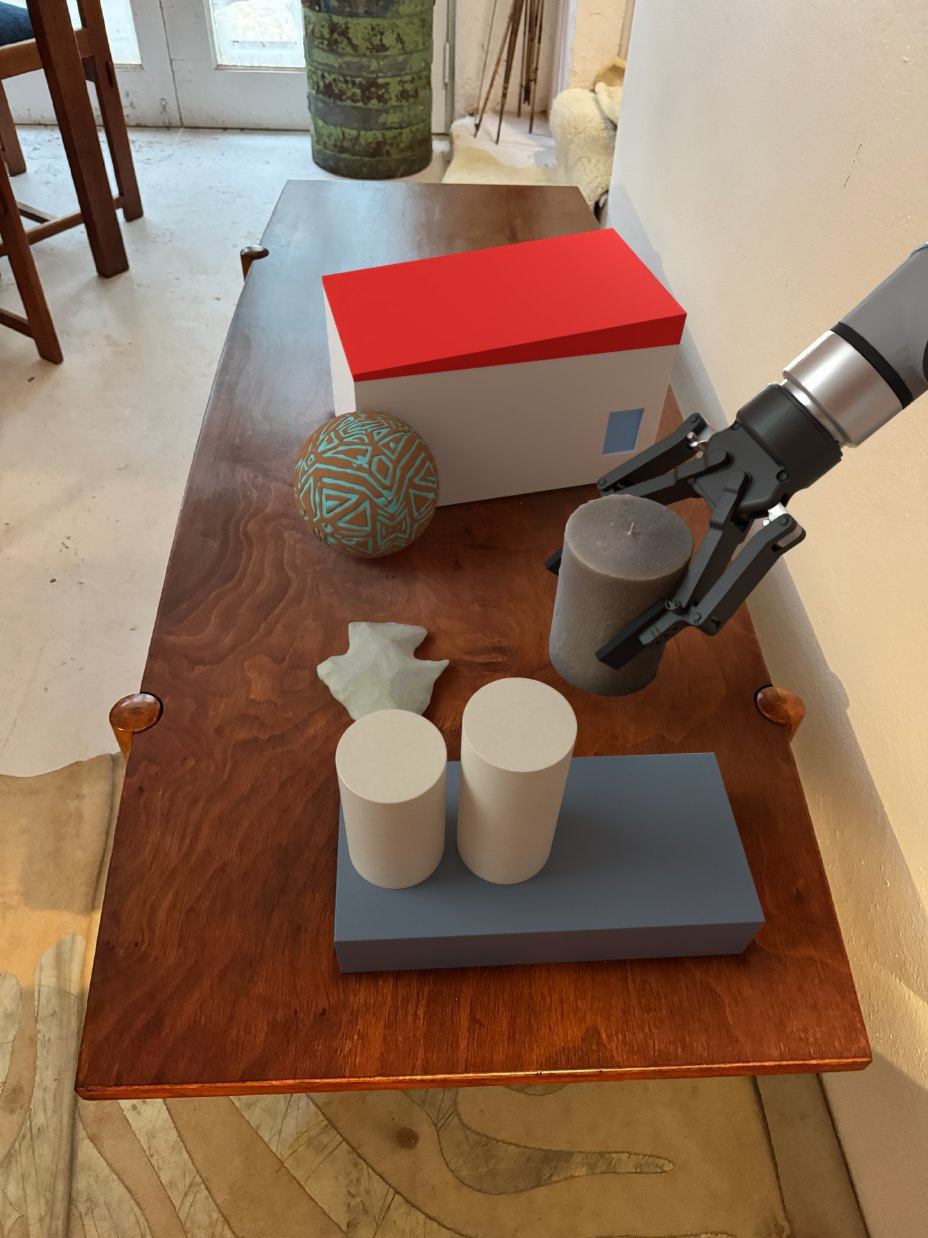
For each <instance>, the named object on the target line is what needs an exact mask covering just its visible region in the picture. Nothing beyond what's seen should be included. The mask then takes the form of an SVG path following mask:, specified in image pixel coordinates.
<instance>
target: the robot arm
mask: <svg viewBox="0 0 928 1238" xmlns="http://www.w3.org/2000/svg"><path fill="white" fill-rule="evenodd" d="M781 375H782V377H783V379H784V380H783V381H782V382H781V383H779V382H777V381H774V382H773V383H772V382H769V383H767V384H766V385H765V386H764V387H763V388H762V389H761V390H760V391H758V392H757V393H756V394H755V395H754V396H752V398H750V399H749V401H747V402H746V403H744V405H743V406H742V407H741V408H739V409H738V410H737V412H736V414H735V420H734V421H733V423H732V424H731V425H729V426H728V427H726V428H723V429H721V430H717V431H716V430H715V428H714V427H713V426H712V425H711V424H710V423H709V422H708V420H707V419H705V417H704V416H703V415H702V414H701V413H699V412H693V413H691V414H690V415H689V416H688V417H687V418H686V419H685V420H684V421H683V422H682V423H681V424H680V425H679V426H678V428H676V429H675V430H674V431H673V432H672V433H670V434H668V435H667V436H665V437H664V438H662V439H660V440H659V441H657V442H655V444H654V445H652V446H651V447H649V448H647V449H646V450H644V451H643V452H641V453H639V454H638V455H636V456H635V457H633V458H631V459H630V460H628V461H626V462H625V463H623V464H622V465H620V466H618V467H617V468H615V469H613V470H612V471H610V472H609V473H607V474H605V475H604V476H602V477H601V478H600V479H599V480H598V481H597V483H596V488H597V489H598V490H599V492H600V498H602V497H604V496H609V495H615V494H617V495H623V494H624V495H625V494H629V495H632V496H636V497H641V498H646V499H649V500H652V501H654V502H657V503H660V504H662V505H664V506H665V507H667V506H669V505H673V504H675V503H678V502H681V501H684V500H688V499H703V500H705V502H706V505H707V507H708V508H709V509H710V510H711V512H712V513H711V515H710V517H709V521H708V525H709V527H708V529H707V531H706V534H705V536H704V537H703V539H702V542H701V544H700V546H699V547H698V549H697V551H696V553H695V555H694V558H693V559H692V560H691V562H690V565H689V568H688V571H687V573H686V575H685V577H684V579H683V581H682V583H681V585H680V587H679V588H678V590H677V592H676V594H675V596H674V598H673V600H672V602H671V601H668V600H666V601H664V600H662V599H659V600H658V601H657V602H656V603H655V604H653V605H652V606H651V607H650V608H649V609H647V610H646V611H645V612H644V613H643V614H641V615H640V616H639V617H638V618H636V619H635V620H634V621H633V622H632V623H630V624H629V625H628V626H627V627H626V628H624V629H623V630H622V631H621V632H620V633H618V634H617V635H616V636H615V637H614V638H612V639H611V640H610V641H609V642H607V643H606V644H605V645H604V646H603V647H601V648H600V649H599V650H598V651H597V652H595V653H594V654H595V655H596V657H597V659H598V661H600V662H602V663H604V664H606V665H607V666H609V667H611V668H613V669H615V670H617V671H618V670H619V669H620V668H622V667H623V666H624V665H625V664H627V663H628V662H629V661H630V660H632V659H633V658H634V657H635V656H637V655H638V654H639V653H640V652H642V651H643V650H644V649H645V648H646V647H648V648H649V649H651V650H656V649H659V648H660V647H661V646H663V645H664V644H665V643H666V644H667V643H668V642H669V641H670V640H671V639H673V638H674V637H675V636H676V635H678V634H679V633H680V632H682V631H683V630H685V628H687V627H694V628H695V629H697V630H698V631H700V632H702V633H703V634H704V635H706V636H707V637H708V636H709V637H714V636H717V635H718V634H719V633H720V632H721V630H722V629H723V628H724V626H725V625H726V624H727V623H728V621H729V620H730V619H731V618H732V617H733V616H734V614H735V613H736V612H737V611H738V609H739V608H740V607H741V606H742V605H743V603H744V602H745V601H746V599H748V597H749V596H750V595H751V594H752V592H753V591H754V590H755V588H757V587H758V585H759V584H760V582H761V581H762V580H763V579H764V578H765V576H766V575H767V574H768V572H769V571H770V570H771V569H772V567H773V566H775V564H776V563H777V561H779V559H780V558H781V557H782V556H783V555H785V554H787V552H789V551H790V550H792V549H793V548H795V547H796V546H798V545H799V544H801V543H802V542H803V541H804V540H805V539H806V537H807V531H806V529H805V528H804V527H803V526H802V525H801V524H800V523H799V522H798V521H797V520H796V519H795V518H794V516H792V515H791V513H790V512H789V511H788V509H787V506H788V504H789V502H790V501H791V499H792V497H794V496H795V494H797V493H798V492H800V491H802V490H806V489H809V488H810V487H812V486H813V485H814V484H815V483H817V481H819V480H820V479H821V478H823V477H824V476H825V475H826V474H827V473H828V472H830V471H831V470H832V469H833V468H834V467H836V466H837V465H838V464H840V462H842V457H843V456H844V453H843V451H842V449H843V448H844V447H845V446H846V447H847V448H849V449H857V448H858V447H860V445H862V444H863V443H864V442H865V441H866V440H868V439H869V438H870V437H872V436H873V435H874V434H875V433H877V432H878V431H879V430H881V428H882V427H884V426H885V425H886V424H887V423H888V422H890V421H891V420H892V419H894V418H895V417H896V416H897V415H898V414H900V413H901V412H902V411H903V410H905V409H906V408H907V407H909V406H910V405H911V404H912V403H914V402H915V401H916V400H917V399H918V398H920V397H921V396H922V395H923V394H925V393H926V392H927V391H928V241H926V243H925V242H924V243H923V244H922V245H921V246H920V247H919V246H918V247H917V248H915V249H914V250H913V251H912V252H911V253H910V255H909V256H907V258H906V260H905V261H904V262H902V263H901V264H900V265H899V266H898V267H897V268H895V270H894V271H893V272H891V273H890V274H889V275H888V276H887V277H886V278H884V280H883V281H882V282H880V283H879V284H878V285H877V286H876V287H875V288H874V289H873V290H871V291H870V292H869V293H868V294H867V295H866V296H865V297H864V298H863V299H862V300H861V301H859V302H858V303H856V305H855V306H854V307H853V308H852V309H851V310H849V311H848V312H847V313H846V314H845V315H843V317H842V318H841V319H840V320H838V322H837V323H836V324H834V325H833V326H832V327H831V328H830V329H829V330H828V331H826V332H825V333H823V335H821V336H820V337H819V338H818V339H817V340H816V341H814V342H813V343H812V344H811V345H810V346H809V347H808V348H806V350H804V351H803V352H802V353H801V354H800V355H799V356H797V357H796V358H795V359H794V360H793V361H792V362H790V363H789V364H788V365H787V366H786V367H785V368H783V369H782V374H781ZM700 452H701V453H702V455H701V456H700V457H698V458H694V459H692V458H693V457H694V456H696V455H697V454H698V453H700ZM691 459H692V460H691ZM759 519H763V520H762V522H761V528H760V529H759V530H758V531H756V533H755V534H753V536H752V537H751V538H750V539H749V540H748V541H747V543H746V544H745V545H744V547H743V548H742V549H741V550H740V552H739V553H738V554H737V555H736V557H734V559H733V560H732V562H730V561H731V559H732V557H733V556H734V553H735V552H736V549H737V547H738V546H739V545H741V544H743V543H744V542H745V541H746V538H747V536H748V534H749V532H750V531H751V529H752V527H753V525H754V523H755V521H756V520H759ZM563 546H564V544H563V545H562V546H561V547H560V548H558V549H557V550H556V551H555V552H554V553H553V554H552V555H551V556H550V557H548V559H547V560H545V561H544V562H543V565H544V567H545V569H546V570H547V571H548V572H550V573H551V574H552V575H555V576H556V577H558V578H559V569H560V566H561V561H562V553H563ZM729 563H730V564H729Z"/></svg>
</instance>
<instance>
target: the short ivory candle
mask: <svg viewBox="0 0 928 1238" xmlns="http://www.w3.org/2000/svg"><path fill="white" fill-rule="evenodd" d="M447 761H448V751H447V745H446V741H445V739H444V737H443V735H442V733H441V732H440V730H439V729H438V728H437V726H436V725H434V724H433V723H432V722H431V721H430V720H429V719H427V718H425V717H424V716H422V715H421V716H420V715H418V714H416V713H413V712H410V711H405V710H397V709H389V710H381V711H377V712H374V713H371V714H368V715H366V716H364V717H362V718H360V719H359V720H357V721H354V722H353V723H352V724H351V725H349V727H348V728H346V730H345V731H344V732H343V734H342V736H341V737H340V739H339V742H338V743H337V746H336V750H335V766H336V767H335V768H336V774H337V779H338V787H339V793H340V795H341V801H342V807H343V814H344V821H345V827H346V834H347V841H348V847H349V854H350V858H351V861H352V863H353V865H354V867H355V869H356V870H357V871H358V873H359V874H360V875H361V876H362V877H363V878H364V879H366V880H367V881H369V882H370V883H372V884H374V885H377V886H379V887H383V888H388V889H401V888H407V887H411V886H413V885H416V884H418V883H420V882H422V881H423V880H425V879H426V878H427V877H429V876H430V875H431V874H432V873H433V872H434V870H435V869H436V868H437V866H438V865H439V863H440V861H441V859H442V856H443V852H444V843H445V808H446V773H447Z"/></svg>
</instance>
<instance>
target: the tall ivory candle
mask: <svg viewBox="0 0 928 1238" xmlns="http://www.w3.org/2000/svg"><path fill="white" fill-rule="evenodd" d="M575 714H576V713H575V712H574V709H573V707H572V706H571V704H570V703H569V701H568V700H567V699H566V697H564V695H562V694H561V692H559V691H558V690H556V689H555V688H553V687H552V686H550V685H548V684H546V683H544V682H541V681H540V680H535V679H531V678H527V677H507V678H501V679H497V680H494V681H492V682H490V683H488V684H485V685H484V686H482V687H481V688H479V689H478V690H477V691H476V692H475V693H473V695H472V696H471V697H470V699H469V700H468V701H467V703H466V706H465V708H464V710H463V714H462V724H461V725H462V726H461V743H460V744H461V745H460V761H461V762H460V782H459V801H458V821H457V847H458V851H459V854H460V856H461V858H462V860H463V862H464V863H465V865H466V866H467V867H468V868H469V869H470V870H471V871H472V872H473V873H474V874H476V875H477V876H479V877H480V878H482V879H484V880H486V881H489V882H492V883H497V884H515V883H519V882H523V881H525V880H528V879H529V878H531V877H533V876H534V875H535V874H537V873H538V872H539V871H540V870H541V869H542V868H543V866H544V865H545V863H546V861H547V859H548V857H549V854H550V850H551V846H552V841H553V837H554V833H555V828H556V824H557V819H558V815H559V811H560V806H561V802H562V798H563V793H564V789H565V784H566V780H567V776H568V771H569V767H570V762H571V758H572V757H573V753H574V750H575V749H574V748H575V744H576V740H577V735H578V722H577V717H576V715H575Z"/></svg>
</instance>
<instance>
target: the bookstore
mask: <svg viewBox="0 0 928 1238" xmlns="http://www.w3.org/2000/svg"><path fill="white" fill-rule="evenodd" d="M321 283H322V293H323V301H324V313H325V322H326V323H325V324H326V333H327V334H326V335H327V343H328V345H327V346H328V353H329V364H330V365H329V366H330V375H331V384H332V386H331V387H332V395H333V406H334V407H333V408H334V415H335V417H337V416H339V415H342V414H345V413H349V412H356V411H357V412H364V411H373V412H380V413H384V414H388V415H391V416H393V417H395V418H397V419H399V420H402V421H403V422H405V423H406V424H408V425H409V426H411V427H412V428H413V429H414V430H415V431H416V432H417V433H418V434H419V435H420V436H421V437H422V438H423V440H424V441H425V442H426V444H427V446H428V447H429V449H430V451H431V453H432V455H433V457H434V459H435V462H436V466H437V470H438V476H439V496H438V502H437V505H436V507H442V506H448V505H455V504H456V505H457V504H461V503H462V504H463V503H469V502H477V501H484V500H489V499H497V498H503V497H511V496H517V495H524V494H530V493H536V492H537V493H538V492H544V491H550V490H556V489H557V490H558V489H563V488H571V487H577V486H578V487H579V486H583V485H590V484H597V481H598V480H599V479H600V478H601V477H602V476H604V475H605V474H607V473H609V472H610V471H612V470H613V469H615V468H617V467H618V466H620V465H622V464H623V463H625V462H626V461H628V460H630V459H631V458H633V457H635V456H636V455H638V454H639V453H641V452H643V451H644V450H646V449H647V448H649V447H651V446H652V445H654V444H656V440H657V435H658V431H659V426H660V423H661V418H662V414H663V411H664V406H665V402H666V398H667V394H668V391H669V390H668V389H669V386H670V381H671V377H672V373H673V368H674V364H675V361H676V356H677V352H678V349H679V345H681V341H682V336H683V333H684V329H685V325H686V322H687V316H688V312H687V311H686V310H685V309H684V308H683V306H681V304H680V303H679V302H678V301H677V300H676V299H675V297H674V296H673V295H672V294H671V293H670V292H669V291H668V290H667V288H666V287H665V286H664V285H663V284H662V283H661V282H660V280H659V279H658V277H656V276H655V274H654V273H653V272H652V271H651V270H650V269H649V267H648V266H647V265H646V264H645V263H644V262H643V261H642V260H641V258H640V257H639V256H638V255H637V254H636V253H635V251H634V250H633V249H632V248H631V247H630V246H629V244H628V243H626V241H625V240H624V239H623V238H622V236H621V235H620V234H619V233H618V232H617V230H616V229H614V227H609V228H603V229H597V230H592V231H591V230H590V231H584V232H579V233H572V234H567V235H559V236H555V237H548V238H543V239H536V240H531V241H524V242H517V243H512V244H506V245H500V246H499V245H498V246H493V247H488V248H483V249H476V250H470V251H464V252H458V253H457V252H456V253H452V254H445V255H440V256H433V257H428V258H422V259H416V260H415V259H414V260H409V261H403V262H398V263H392V264H386V265H380V266H373V267H367V268H361V269H355V270H349V271H342V272H337V273H330V274H324V275H321Z"/></svg>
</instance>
